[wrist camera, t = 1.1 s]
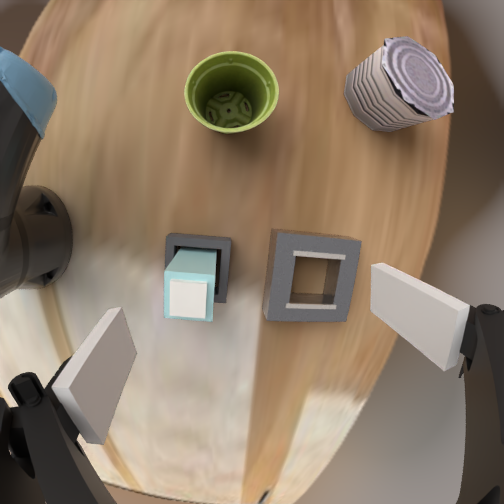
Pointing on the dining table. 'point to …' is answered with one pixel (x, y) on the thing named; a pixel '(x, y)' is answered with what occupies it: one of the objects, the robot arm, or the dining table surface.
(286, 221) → the dining table surface
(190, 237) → the holster
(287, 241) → the port block
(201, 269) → the plug
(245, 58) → the plant pot
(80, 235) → the dining table surface
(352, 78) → the can
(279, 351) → the dining table surface
